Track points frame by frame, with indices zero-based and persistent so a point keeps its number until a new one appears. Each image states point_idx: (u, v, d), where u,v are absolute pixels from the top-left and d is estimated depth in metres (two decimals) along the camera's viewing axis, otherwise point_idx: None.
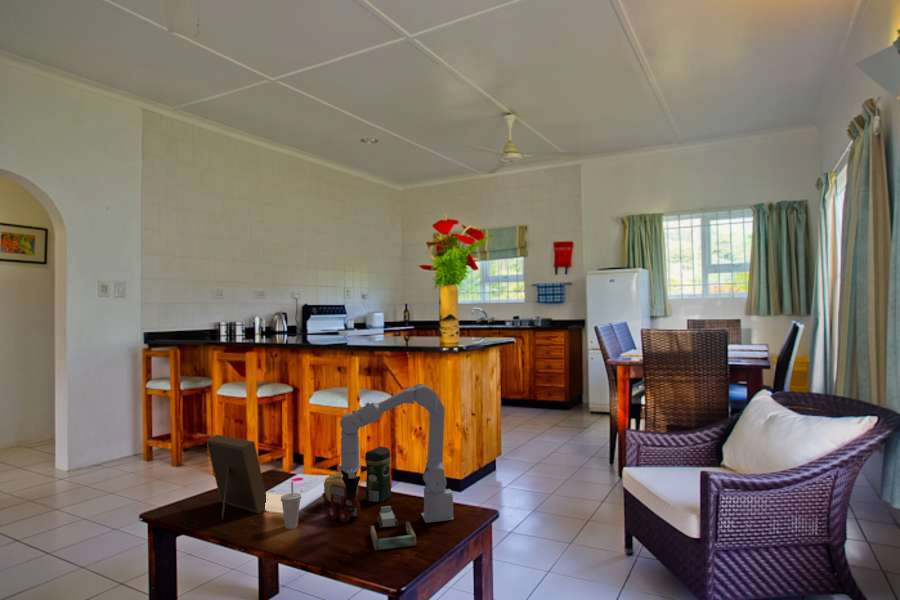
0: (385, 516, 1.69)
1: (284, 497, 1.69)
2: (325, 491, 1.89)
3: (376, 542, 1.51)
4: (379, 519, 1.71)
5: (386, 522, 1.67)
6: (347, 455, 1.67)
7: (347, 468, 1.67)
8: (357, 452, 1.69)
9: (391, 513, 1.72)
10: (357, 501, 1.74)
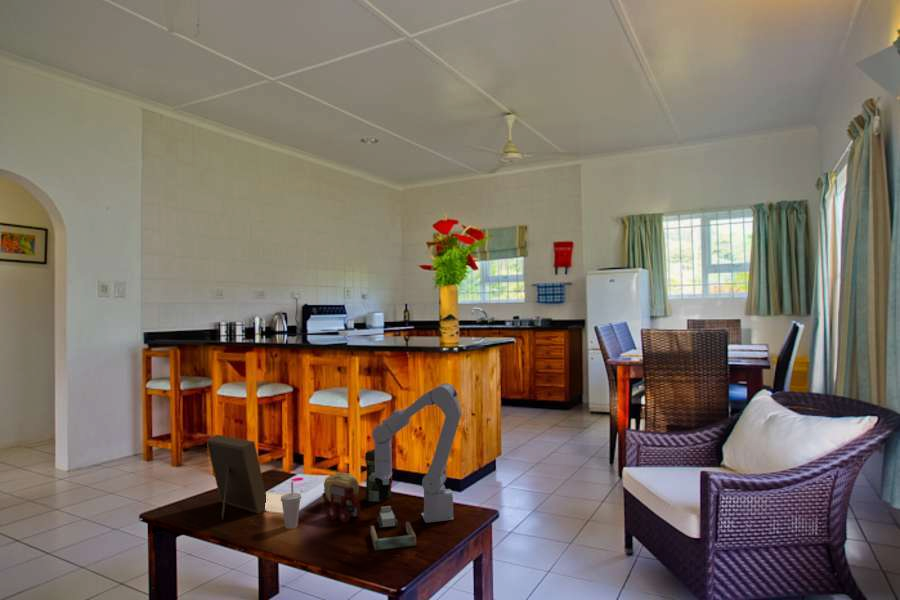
0: (385, 516, 1.69)
1: (284, 497, 1.69)
2: (325, 491, 1.89)
3: (376, 542, 1.51)
4: (379, 519, 1.71)
5: (386, 522, 1.67)
6: (381, 462, 1.77)
7: (381, 475, 1.77)
8: (390, 460, 1.79)
9: (391, 513, 1.72)
10: (357, 501, 1.74)
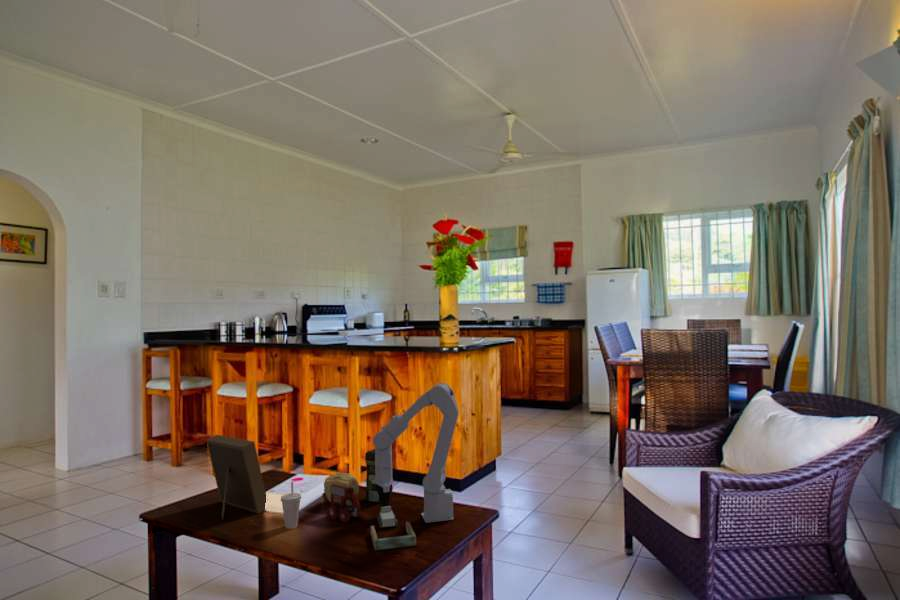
0: (385, 516, 1.69)
1: (284, 497, 1.69)
2: (325, 491, 1.89)
3: (376, 542, 1.51)
4: (379, 519, 1.71)
5: (386, 522, 1.67)
6: (381, 470, 1.76)
7: (381, 482, 1.76)
8: (390, 467, 1.78)
9: (391, 513, 1.72)
10: (357, 501, 1.74)
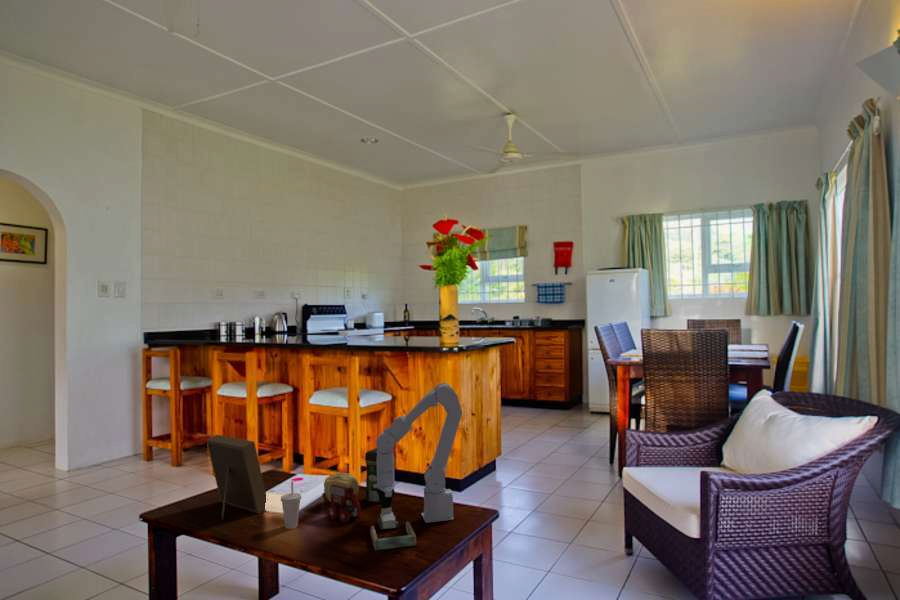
0: (385, 518, 1.68)
1: (284, 497, 1.69)
2: (325, 491, 1.89)
3: (376, 542, 1.51)
4: (379, 521, 1.70)
5: (386, 524, 1.66)
6: (383, 474, 1.71)
7: (383, 486, 1.71)
8: (392, 471, 1.73)
9: (392, 515, 1.70)
10: (357, 501, 1.74)
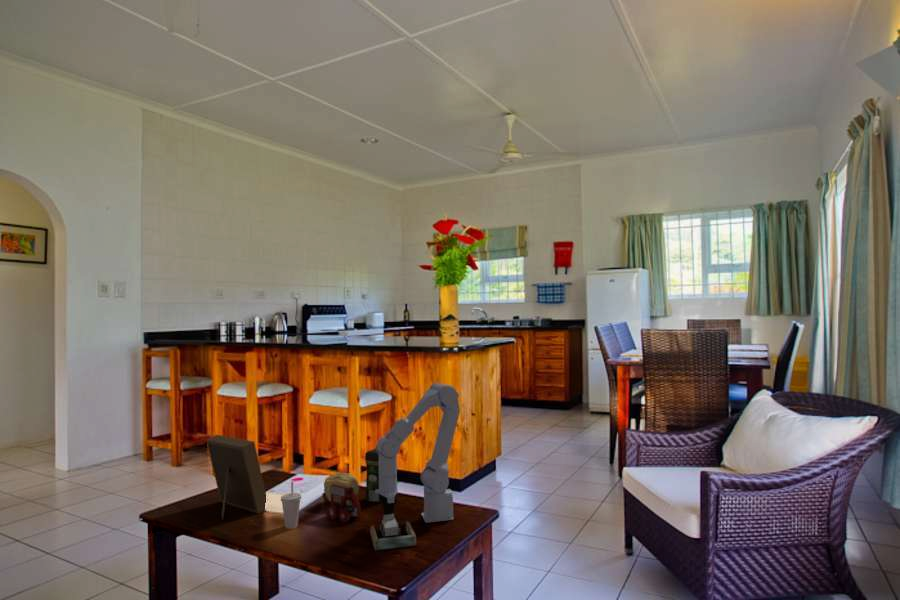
0: (387, 524, 1.62)
1: (284, 497, 1.69)
2: (325, 491, 1.89)
3: (376, 542, 1.51)
4: (382, 528, 1.64)
5: (389, 531, 1.60)
6: (385, 479, 1.66)
7: (385, 492, 1.65)
8: (395, 476, 1.67)
9: (394, 521, 1.65)
10: (357, 501, 1.74)
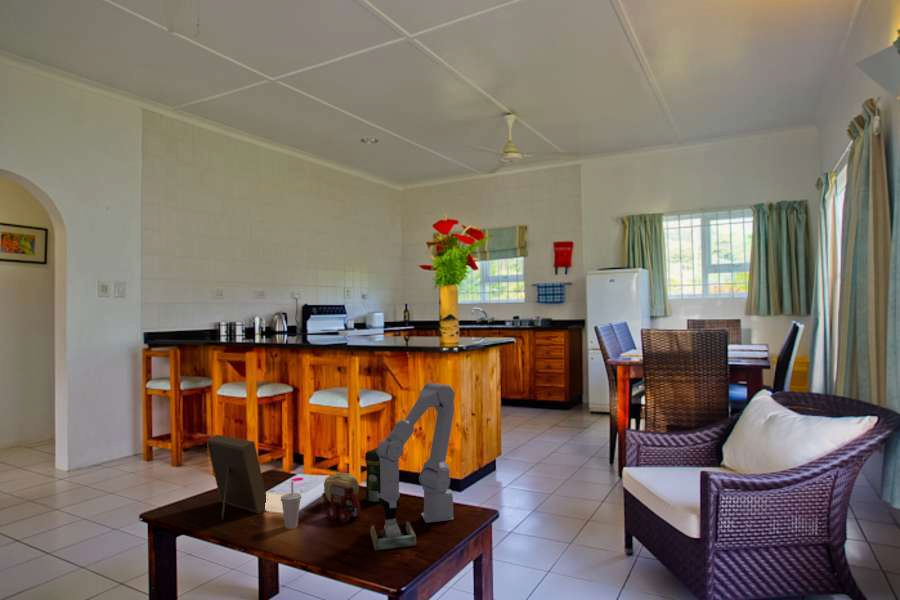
0: (390, 530, 1.58)
1: (284, 497, 1.69)
2: (325, 491, 1.89)
3: (376, 542, 1.51)
4: (383, 533, 1.60)
5: (391, 536, 1.56)
6: (387, 483, 1.61)
7: (387, 496, 1.61)
8: (397, 480, 1.63)
9: (396, 526, 1.60)
10: (357, 501, 1.74)
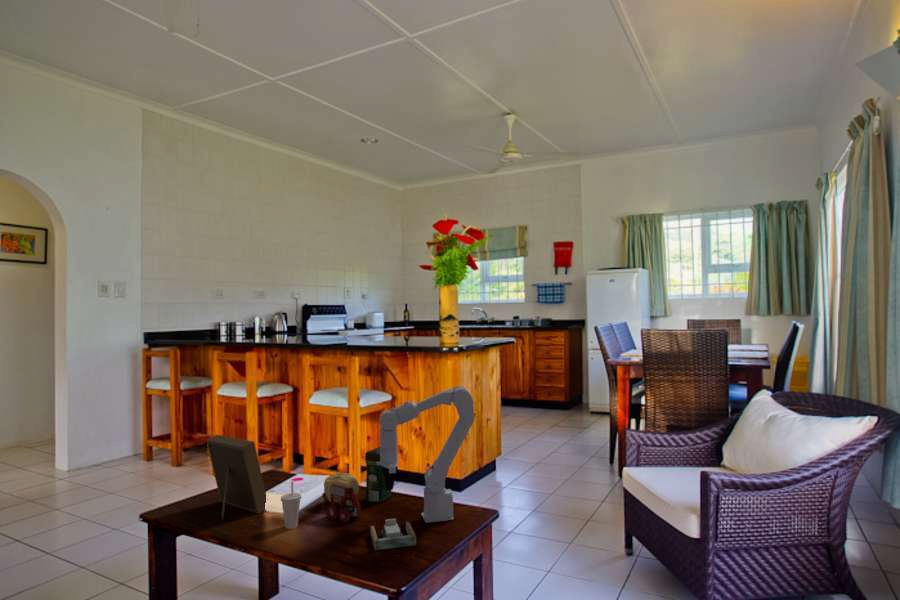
0: (389, 530, 1.58)
1: (284, 497, 1.69)
2: (325, 491, 1.89)
3: (376, 542, 1.51)
4: (383, 533, 1.60)
5: (391, 536, 1.56)
6: (387, 451, 1.72)
7: (387, 463, 1.72)
8: (396, 448, 1.74)
9: (396, 526, 1.60)
10: (357, 501, 1.74)
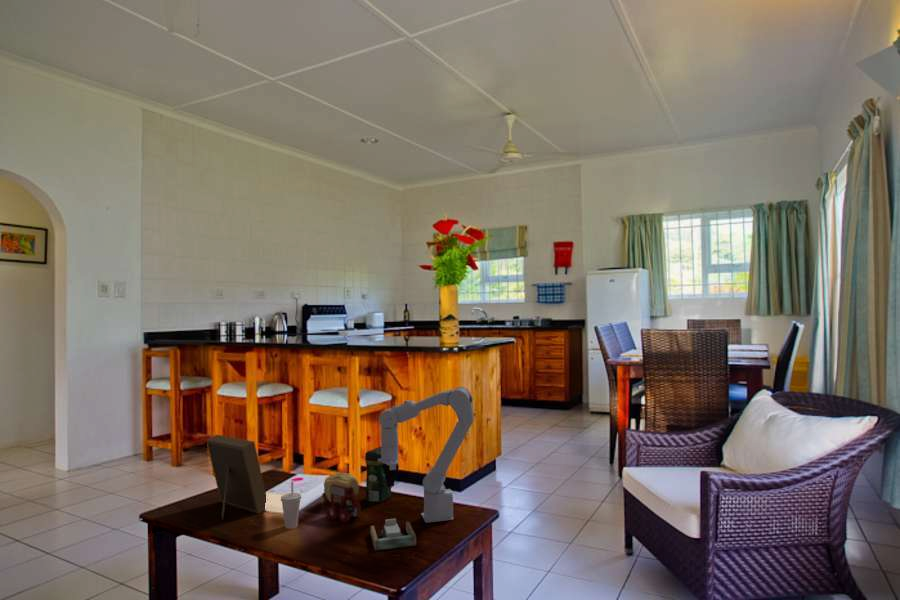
0: (389, 530, 1.58)
1: (284, 497, 1.69)
2: (325, 491, 1.89)
3: (376, 542, 1.51)
4: (383, 533, 1.60)
5: (391, 536, 1.56)
6: (387, 448, 1.76)
7: (387, 460, 1.75)
8: (396, 445, 1.77)
9: (396, 526, 1.60)
10: (357, 501, 1.74)
